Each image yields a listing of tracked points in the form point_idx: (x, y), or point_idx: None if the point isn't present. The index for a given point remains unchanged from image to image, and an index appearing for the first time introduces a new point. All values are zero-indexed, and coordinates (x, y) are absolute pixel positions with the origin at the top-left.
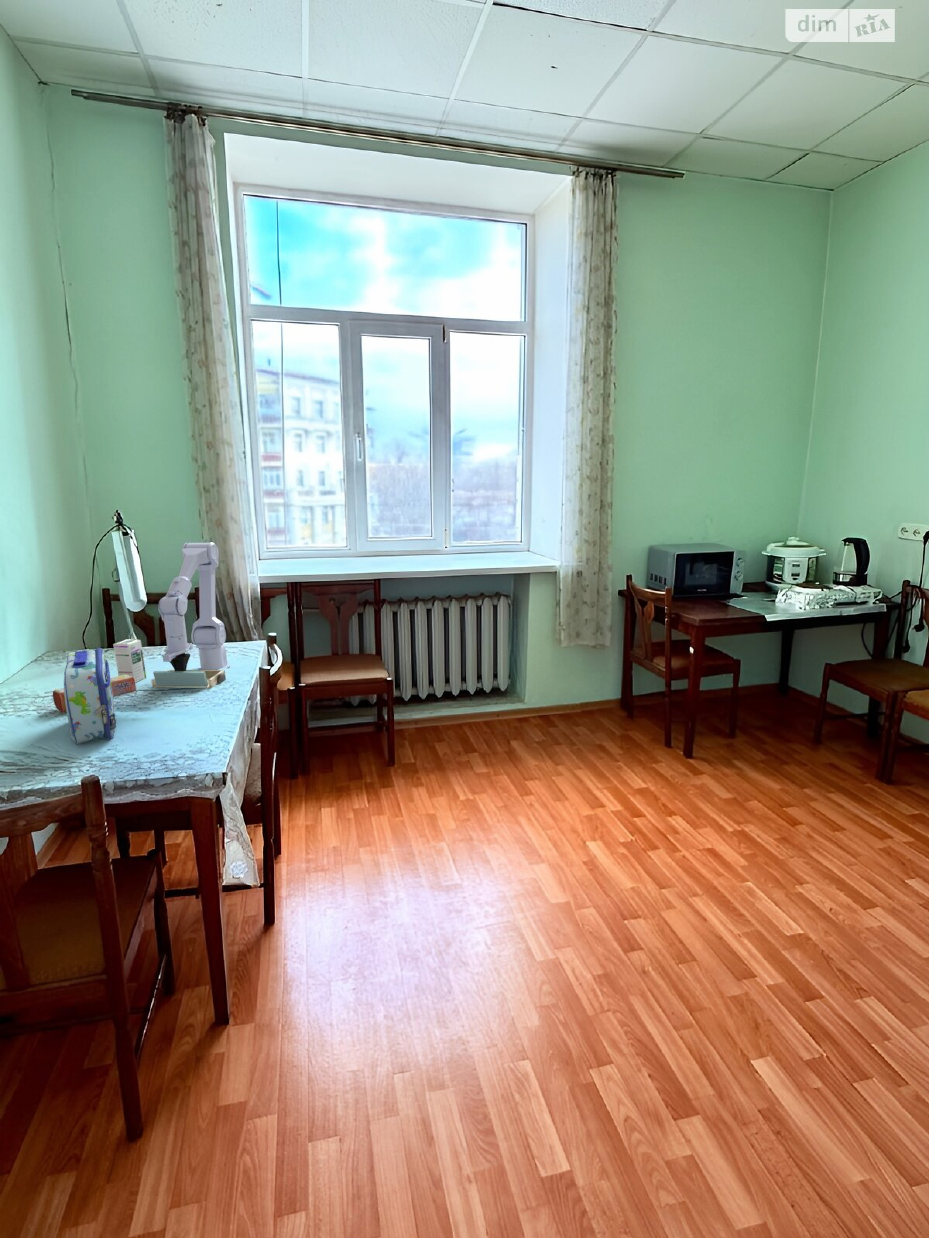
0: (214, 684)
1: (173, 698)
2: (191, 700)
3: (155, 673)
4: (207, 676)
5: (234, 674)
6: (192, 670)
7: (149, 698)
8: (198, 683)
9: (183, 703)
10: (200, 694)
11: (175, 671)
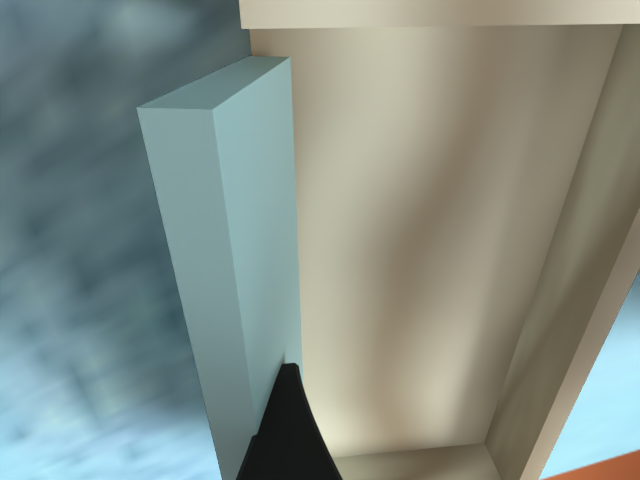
0: None
1: (114, 295)
2: (114, 414)
3: (160, 152)
4: (516, 381)
5: (630, 402)
6: (597, 321)
7: (34, 72)
8: None
9: (42, 401)
10: None
11: (250, 437)
